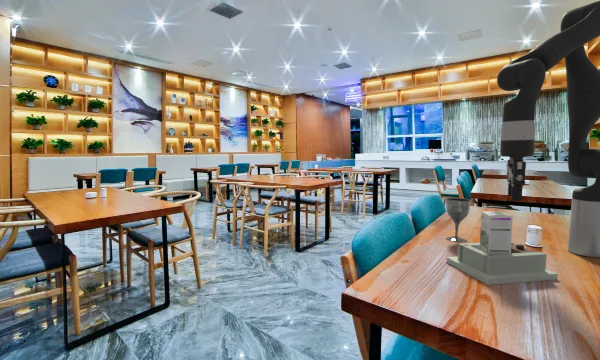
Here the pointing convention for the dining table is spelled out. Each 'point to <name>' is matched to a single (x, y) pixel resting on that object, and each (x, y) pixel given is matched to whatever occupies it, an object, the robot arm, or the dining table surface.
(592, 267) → the dining table surface
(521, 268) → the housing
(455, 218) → the wine glass
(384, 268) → the dining table surface
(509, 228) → the syrup box
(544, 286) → the dining table surface
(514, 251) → the clamp block
